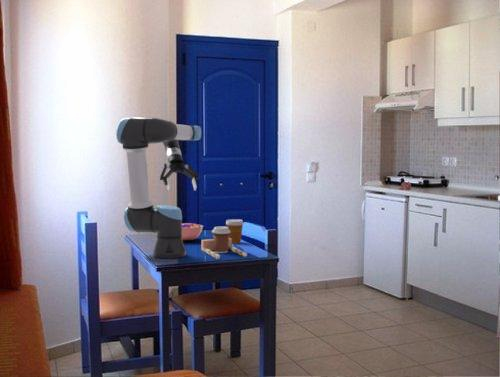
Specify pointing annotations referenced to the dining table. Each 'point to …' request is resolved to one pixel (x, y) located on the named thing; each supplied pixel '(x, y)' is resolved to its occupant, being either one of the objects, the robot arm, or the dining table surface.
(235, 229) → the disposable coffee cup
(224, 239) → the coffee cup
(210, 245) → the end stop
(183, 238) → the cell model
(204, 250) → the track rails
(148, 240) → the dining table surface
